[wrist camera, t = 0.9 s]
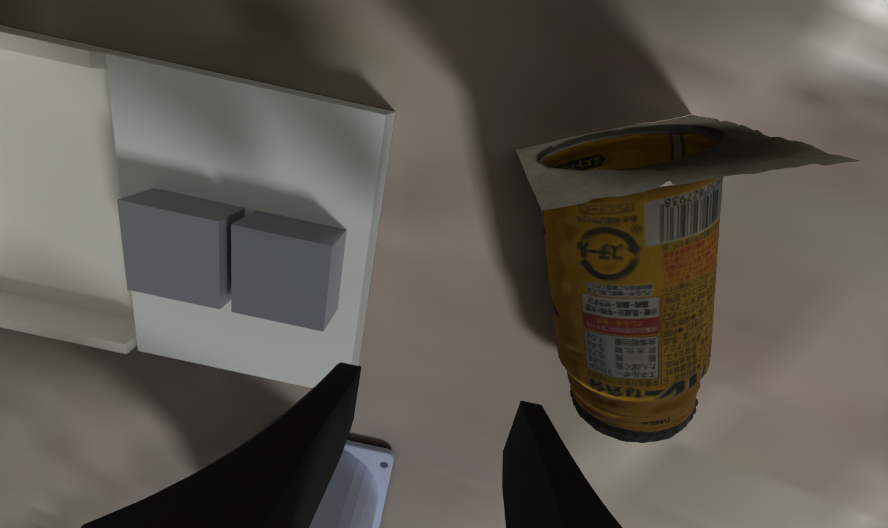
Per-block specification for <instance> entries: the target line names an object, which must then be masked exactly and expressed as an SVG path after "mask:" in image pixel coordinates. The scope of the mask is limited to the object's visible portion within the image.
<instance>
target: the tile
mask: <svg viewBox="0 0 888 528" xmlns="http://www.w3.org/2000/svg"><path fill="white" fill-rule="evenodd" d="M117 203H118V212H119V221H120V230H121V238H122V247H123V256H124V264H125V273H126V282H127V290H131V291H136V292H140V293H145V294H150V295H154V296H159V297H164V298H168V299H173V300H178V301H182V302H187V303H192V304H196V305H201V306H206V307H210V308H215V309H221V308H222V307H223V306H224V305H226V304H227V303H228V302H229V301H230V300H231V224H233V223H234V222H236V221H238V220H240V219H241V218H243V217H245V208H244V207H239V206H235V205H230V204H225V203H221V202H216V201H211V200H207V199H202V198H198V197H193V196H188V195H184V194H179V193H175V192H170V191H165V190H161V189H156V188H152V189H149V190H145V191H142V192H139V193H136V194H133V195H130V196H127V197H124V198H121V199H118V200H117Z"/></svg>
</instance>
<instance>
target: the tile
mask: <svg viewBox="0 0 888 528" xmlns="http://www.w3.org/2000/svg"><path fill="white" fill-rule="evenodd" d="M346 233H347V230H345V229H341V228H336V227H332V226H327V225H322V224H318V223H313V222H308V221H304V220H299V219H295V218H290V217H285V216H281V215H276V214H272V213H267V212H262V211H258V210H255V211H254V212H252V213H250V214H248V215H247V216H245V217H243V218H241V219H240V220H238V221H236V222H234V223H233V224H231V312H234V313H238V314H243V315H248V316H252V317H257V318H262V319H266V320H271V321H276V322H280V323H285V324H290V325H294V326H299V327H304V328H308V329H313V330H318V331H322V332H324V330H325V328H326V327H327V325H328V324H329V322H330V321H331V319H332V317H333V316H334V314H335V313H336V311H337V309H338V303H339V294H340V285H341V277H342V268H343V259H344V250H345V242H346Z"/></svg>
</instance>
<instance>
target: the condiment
mask: <svg viewBox="0 0 888 528" xmlns="http://www.w3.org/2000/svg"><path fill="white" fill-rule="evenodd" d="M515 151H516V153H517V155H518V157H519V159H520V162H521V164H522V166H523V168H524V171H525V174H526V176H527V178H528V182H529V183H530V185H531V188H532V191H533V193H534V194H535V196H536V199H537V202H538V204H539V205H540V207H541V215H542V222H543V230H544V235H545V247H546V257H547V266H548V279H549V281H550V292H551V297H552V304H553V314H554V324H555V334H556V342H557V351H558V356H559V358H560V361H561V363H562V364H563V366H564V367H565V368H566V370H567V375H568V379H569V382H570V385H571V386H570V388H571V390H570V393H571V397H572V401H573V405H575V408H576V410H577V412H578V414H579V415H580V417H582V418H583V419H584V420H585V421H586V422H587V423H588V424H590V425H591V426H592V427H593V428H594V429H595V430H597V431H599V432H601V433H602V434H605V435H607V436H610V437H613V438H616V439H618V440H621V441H625V442H639V443H645V442H655V441H660V440H665V439H669V438H671V437H672V436H674V435H675V434H676V433H678V432H679V431H681V430H682V429H683V428H684V427H686V426H687V424H688V423H689V422H690V421H691V420H692V418H693V414H695V413H696V406H697V405H698V401H697V399H696V394H697V392H698V389H699V388H700V379H701V378H702V377H703V376H704V375H705V374H706V373H707V370H708V367H709V362H710V356H711V343H712V330H713V329H712V326H713V321H714V320H713V311H714V295H715V285H716V265H717V250H718V238H719V222H720V211H721V201H722V182H723V176H730V175H737V174H754V173H760V172H765V171H769V170H774V169H782V168H792V167H800V166H804V165H808V164H820V165H831V164H837V163H844V162H854V161H859V160H855V159H851V158H848V157H844V156H841V155H831V154H828V153H825V152H823V151H821V150H819V149H817V148H815V147H813V146H812V145H808V144H805V143H803V142H798V141H788V140H786V139H784V138H781V137H768V136H765V135H764V134H762V133H761V132H759V131H758V130H752V129H750V128H747V127H746V126H743V125H737V124H735V123H732V122H727V121H722V122H720V121H719V120H717V119H713V118H705V117H699V116H695V115H690V116H686V117H682V118H677V119H672V120H666V121H660V122H657V123H645V124H634V125H629V126H624V127H620V128H612V129H608V130H602V131H595V132H590V133H586V134H582V135H578V136H571V137H567V138H563V139H558V140H556V141H554V142H545V143H543V144H541V145H535V146H530V147H523V148H520V149H517V150H515Z"/></svg>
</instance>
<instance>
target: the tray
mask: <svg viewBox="0 0 888 528" xmlns="http://www.w3.org/2000/svg"><path fill="white" fill-rule="evenodd" d="M105 53H106V54H119V55H132V56H136V55H135V54H130V53H125V52H121V51H116V50H112V49H107V48H103V47H98V46H93V45H89V44H84V43H80V42H75V41H71V40H66V39H62V38H57V37H52V36H48V35H43V34H39V33H34V32H30V31H25V30H20V29H16V28H11V27H7V26H2V25H0V327H1V328H6V329H10V330H15V331H20V332H24V333H29V334H34V335H38V336H43V337H48V338H53V339H57V340H62V341H67V342H71V343H76V344H81V345H85V346H90V347H95V348H100V349H104V350H109V351H114V352H118V353H123V354H127V353H129V352H130V351H131V350H132V349H134V348H135V347H136V346H137V338H136V329H135V320H134V311H133V301H132V292H131V290H127V282H126V273H125V264H124V256H123V247H122V238H121V230H120V221H119V212H118V203H117V200H118V199H121V193H120V184H119V175H118V166H117V157H116V148H115V139H114V130H113V120H112V111H111V102H110V93H109V84H108V75H107V66H106V57H105Z"/></svg>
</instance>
